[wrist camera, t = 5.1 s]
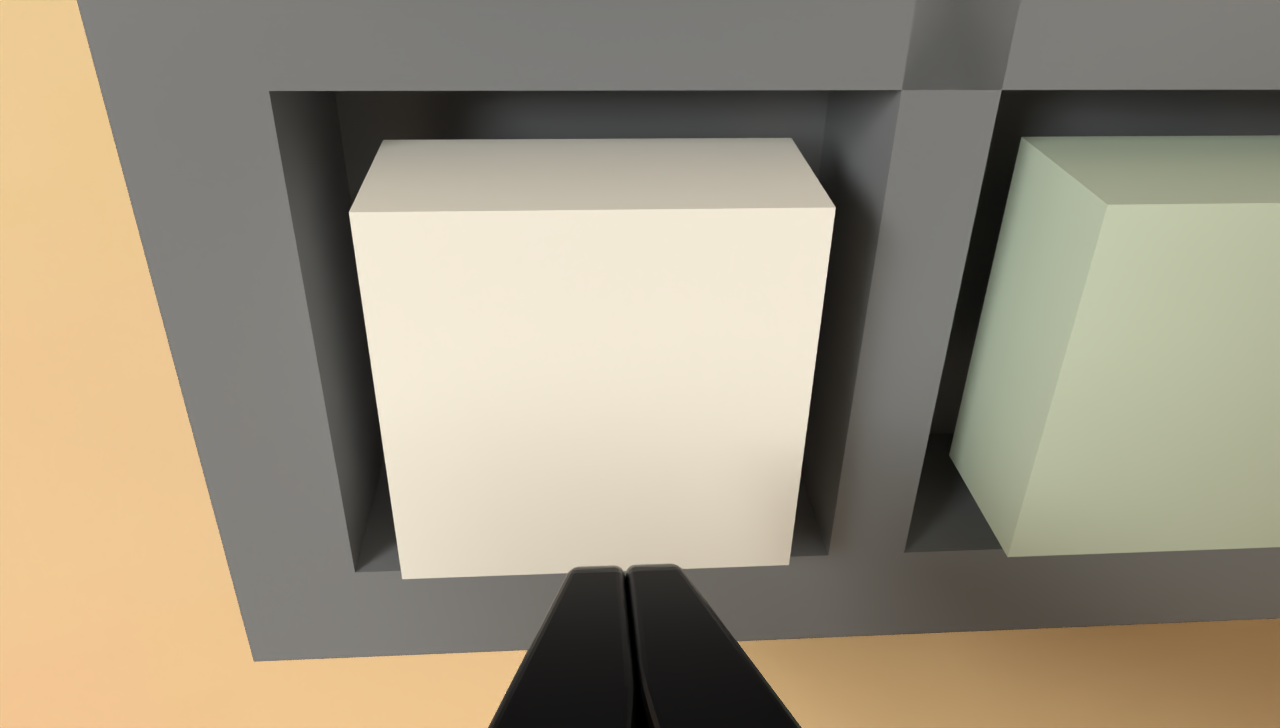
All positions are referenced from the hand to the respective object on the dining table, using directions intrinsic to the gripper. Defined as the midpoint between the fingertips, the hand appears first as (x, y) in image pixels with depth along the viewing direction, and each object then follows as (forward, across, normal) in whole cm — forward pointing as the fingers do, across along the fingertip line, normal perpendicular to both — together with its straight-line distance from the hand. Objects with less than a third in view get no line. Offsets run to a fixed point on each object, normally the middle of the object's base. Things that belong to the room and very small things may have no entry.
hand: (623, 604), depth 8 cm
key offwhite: (+5, 0, 0) cm, 5 cm away
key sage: (+5, -7, 0) cm, 8 cm away
